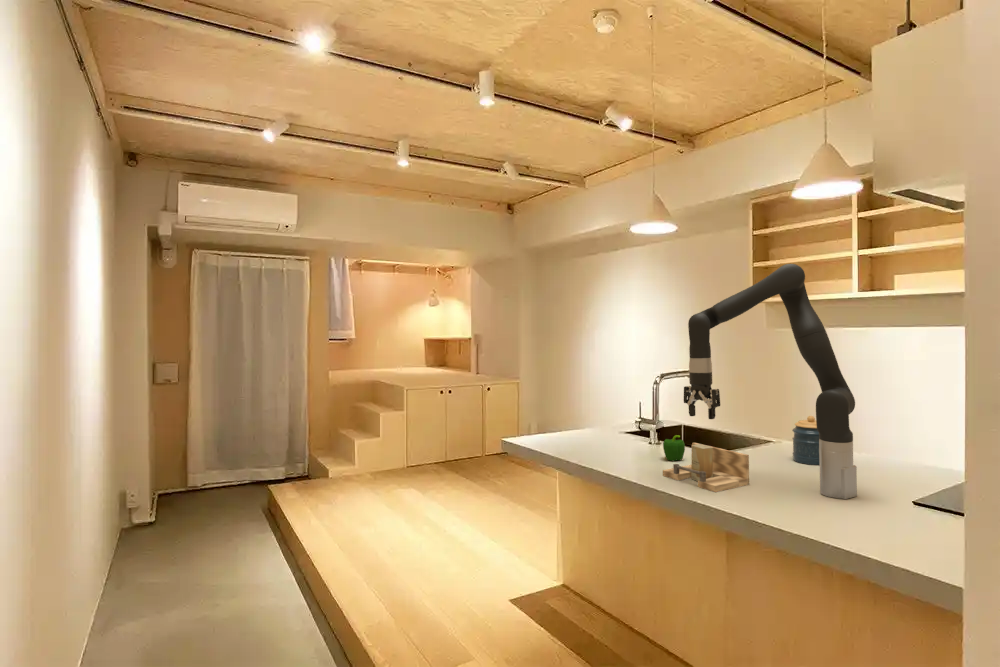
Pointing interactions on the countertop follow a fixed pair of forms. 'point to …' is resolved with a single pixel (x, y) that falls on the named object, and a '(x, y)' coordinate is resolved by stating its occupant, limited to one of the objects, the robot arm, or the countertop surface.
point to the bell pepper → (674, 448)
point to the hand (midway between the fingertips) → (701, 417)
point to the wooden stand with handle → (717, 471)
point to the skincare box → (702, 461)
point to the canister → (806, 442)
